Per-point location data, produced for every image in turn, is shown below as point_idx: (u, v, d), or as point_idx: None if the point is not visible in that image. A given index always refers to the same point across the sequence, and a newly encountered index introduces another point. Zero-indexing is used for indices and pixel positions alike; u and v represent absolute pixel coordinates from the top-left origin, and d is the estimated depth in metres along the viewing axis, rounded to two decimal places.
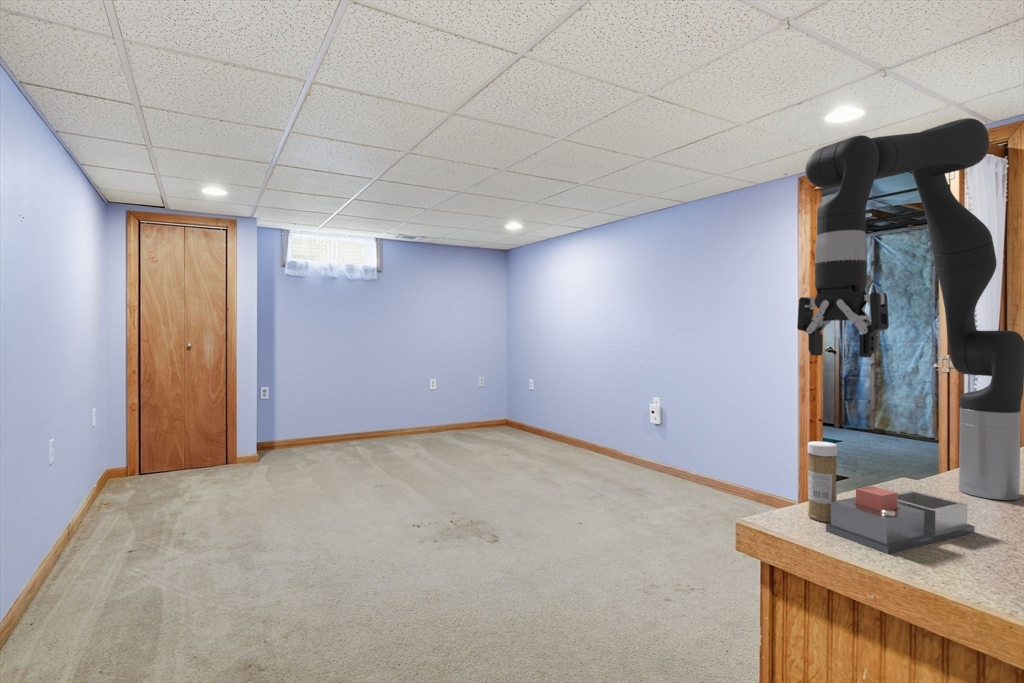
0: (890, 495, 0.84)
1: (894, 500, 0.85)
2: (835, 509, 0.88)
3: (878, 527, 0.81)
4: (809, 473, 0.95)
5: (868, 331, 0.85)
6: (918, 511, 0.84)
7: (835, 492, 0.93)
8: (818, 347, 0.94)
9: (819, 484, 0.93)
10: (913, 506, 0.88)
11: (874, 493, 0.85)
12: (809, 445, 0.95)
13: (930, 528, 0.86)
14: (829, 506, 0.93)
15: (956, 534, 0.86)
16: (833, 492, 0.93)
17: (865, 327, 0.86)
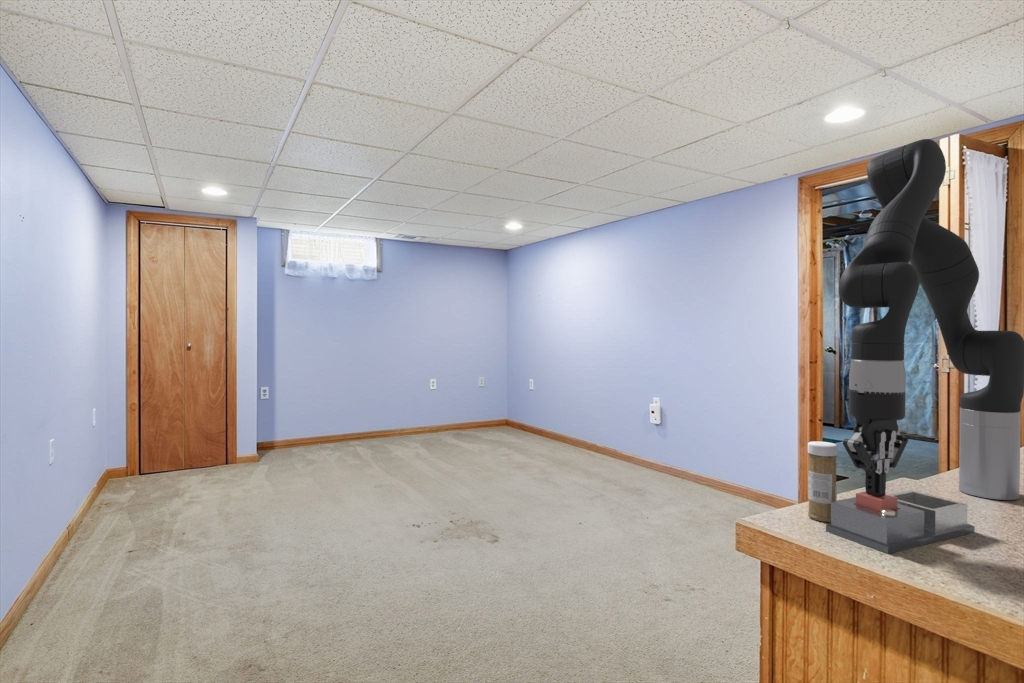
0: (890, 500, 0.84)
1: (894, 505, 0.85)
2: (835, 509, 0.88)
3: (878, 527, 0.81)
4: (809, 473, 0.95)
5: None
6: (918, 511, 0.84)
7: (835, 492, 0.93)
8: None
9: (819, 484, 0.93)
10: (913, 506, 0.88)
11: (874, 498, 0.85)
12: (809, 445, 0.95)
13: (930, 528, 0.86)
14: (829, 506, 0.93)
15: (956, 534, 0.86)
16: (833, 492, 0.93)
17: (888, 467, 0.86)
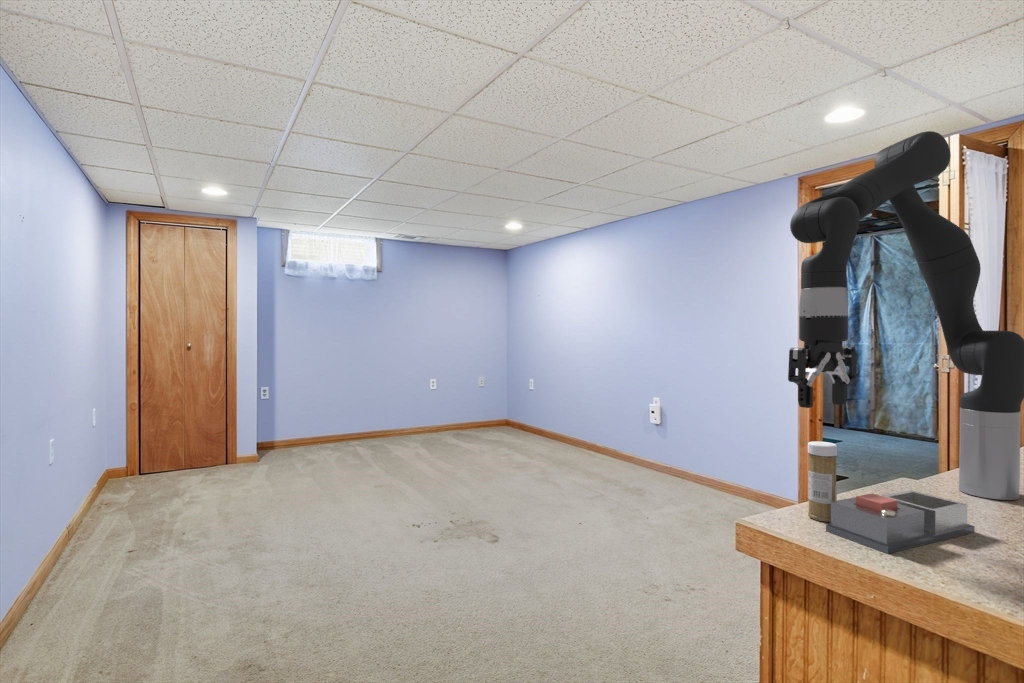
0: (890, 503, 0.84)
1: (894, 508, 0.85)
2: (835, 509, 0.88)
3: (878, 527, 0.81)
4: (809, 473, 0.95)
5: None
6: (918, 511, 0.84)
7: (835, 492, 0.93)
8: None
9: (819, 484, 0.93)
10: (913, 506, 0.88)
11: (874, 501, 0.85)
12: (809, 445, 0.95)
13: (930, 528, 0.86)
14: (829, 506, 0.93)
15: (956, 534, 0.86)
16: (833, 492, 0.93)
17: (848, 378, 0.95)
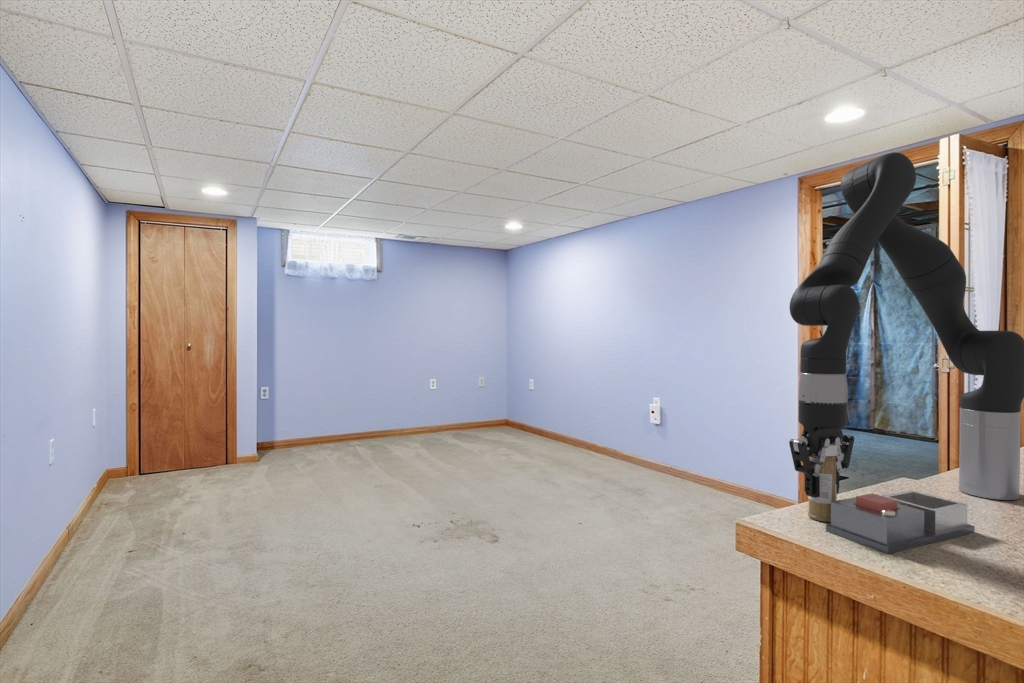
0: (890, 503, 0.84)
1: (894, 508, 0.85)
2: (835, 509, 0.88)
3: (878, 527, 0.81)
4: None
5: None
6: (918, 511, 0.84)
7: (835, 492, 0.93)
8: None
9: (819, 484, 0.93)
10: (913, 506, 0.88)
11: (874, 501, 0.85)
12: None
13: (930, 528, 0.86)
14: (829, 506, 0.93)
15: (956, 534, 0.86)
16: (833, 492, 0.93)
17: (841, 467, 0.95)
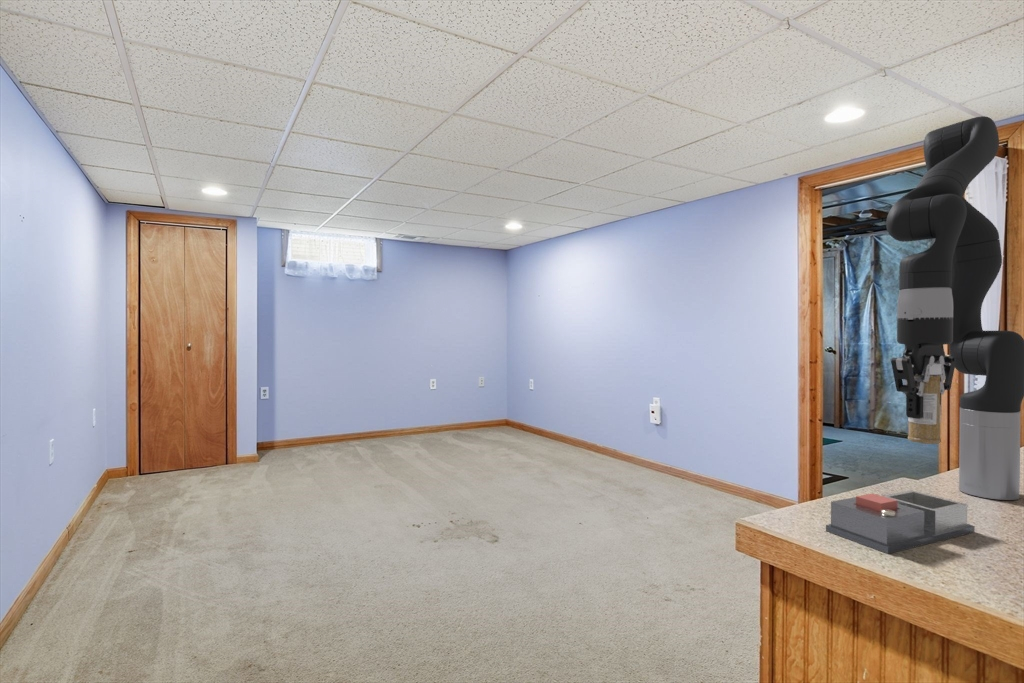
0: (890, 503, 0.84)
1: (894, 508, 0.85)
2: (835, 509, 0.88)
3: (878, 527, 0.81)
4: None
5: None
6: (918, 511, 0.84)
7: (939, 413, 0.89)
8: None
9: (923, 404, 0.89)
10: (913, 506, 0.88)
11: (874, 501, 0.85)
12: None
13: (930, 528, 0.86)
14: (934, 427, 0.89)
15: (956, 534, 0.86)
16: (938, 412, 0.89)
17: (943, 388, 0.91)
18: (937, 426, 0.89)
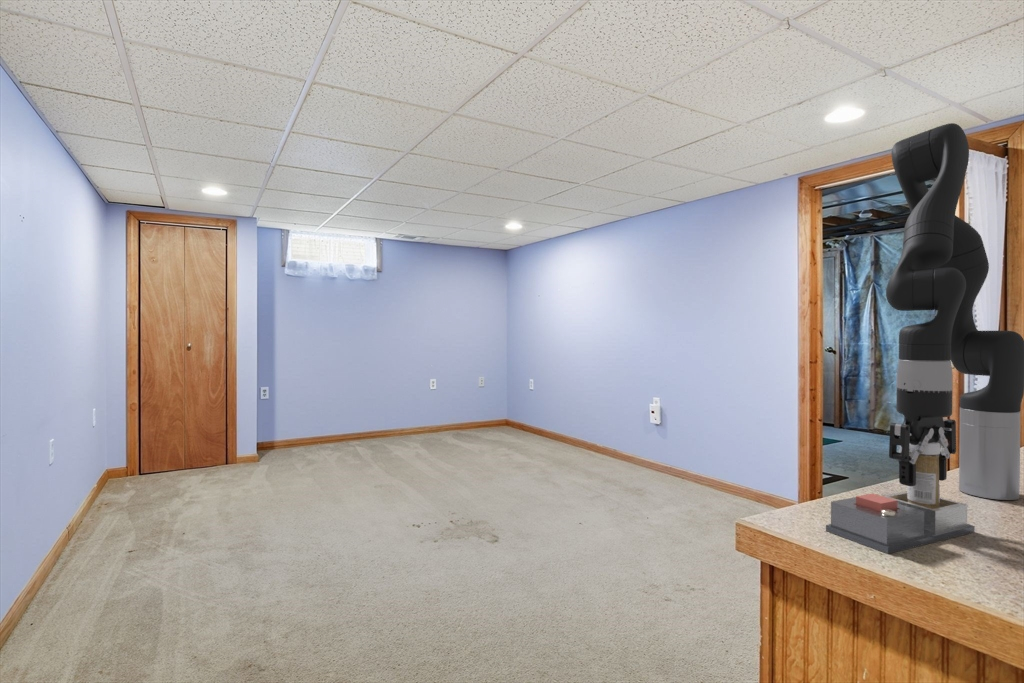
0: (890, 503, 0.84)
1: (894, 508, 0.85)
2: (835, 509, 0.88)
3: (878, 527, 0.81)
4: None
5: None
6: (918, 511, 0.84)
7: (938, 492, 0.89)
8: None
9: (922, 484, 0.89)
10: (913, 506, 0.88)
11: (874, 501, 0.85)
12: None
13: (930, 528, 0.86)
14: (933, 507, 0.89)
15: (956, 534, 0.86)
16: (937, 492, 0.89)
17: (948, 452, 0.92)
18: (936, 506, 0.89)
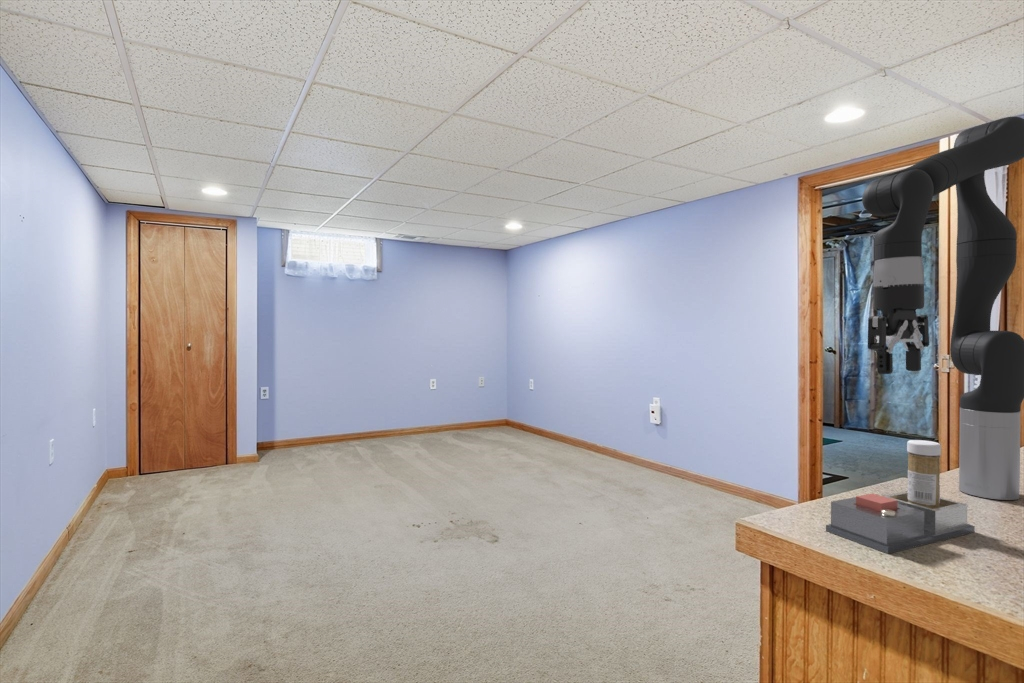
0: (890, 503, 0.84)
1: (894, 508, 0.85)
2: (835, 509, 0.88)
3: (878, 527, 0.81)
4: (909, 473, 0.91)
5: None
6: (918, 511, 0.84)
7: (939, 493, 0.89)
8: None
9: (922, 485, 0.89)
10: (913, 506, 0.88)
11: (874, 501, 0.85)
12: (910, 444, 0.91)
13: (930, 528, 0.86)
14: (933, 508, 0.89)
15: (956, 534, 0.86)
16: (937, 493, 0.89)
17: (922, 344, 0.99)
18: (936, 507, 0.89)
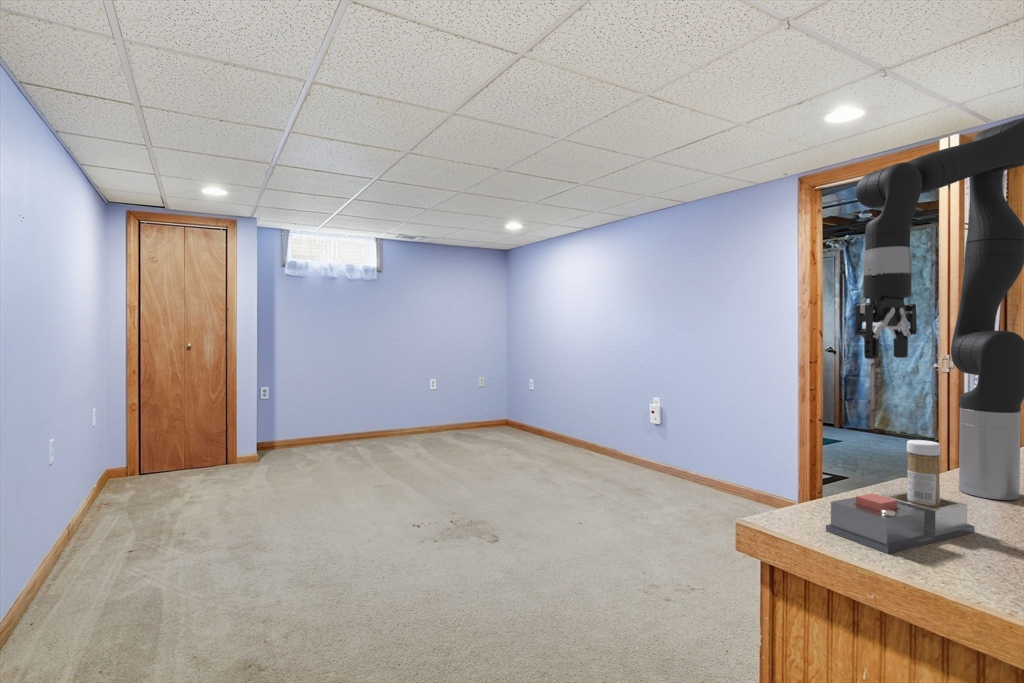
0: (890, 503, 0.84)
1: (894, 508, 0.85)
2: (835, 509, 0.88)
3: (878, 527, 0.81)
4: (909, 473, 0.91)
5: None
6: (918, 511, 0.84)
7: (939, 493, 0.89)
8: None
9: (922, 485, 0.89)
10: (913, 506, 0.88)
11: (874, 501, 0.85)
12: (909, 444, 0.91)
13: (930, 528, 0.86)
14: (933, 508, 0.89)
15: (956, 534, 0.86)
16: (937, 493, 0.89)
17: (909, 332, 1.03)
18: (936, 506, 0.89)
